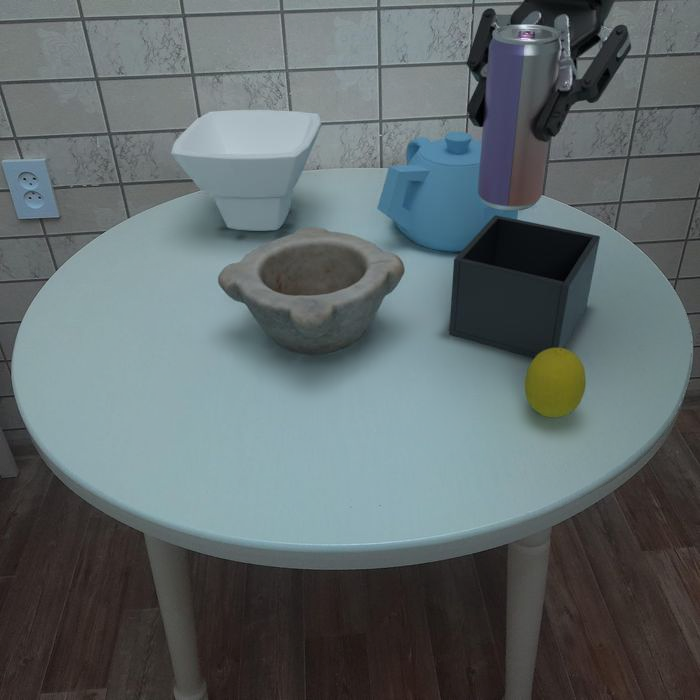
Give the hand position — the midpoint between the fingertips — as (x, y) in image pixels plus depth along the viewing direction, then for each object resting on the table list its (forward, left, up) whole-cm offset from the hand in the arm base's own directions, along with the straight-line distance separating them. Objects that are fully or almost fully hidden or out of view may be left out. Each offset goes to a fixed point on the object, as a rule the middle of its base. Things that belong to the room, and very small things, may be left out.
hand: (507, 129), depth 64 cm
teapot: (+15, -28, -26) cm, 41 cm away
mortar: (+19, +4, -26) cm, 32 cm away
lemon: (-9, +6, -26) cm, 28 cm away
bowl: (+42, -17, -26) cm, 52 cm away
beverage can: (0, -2, -7) cm, 8 cm away
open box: (-1, -9, -25) cm, 27 cm away
